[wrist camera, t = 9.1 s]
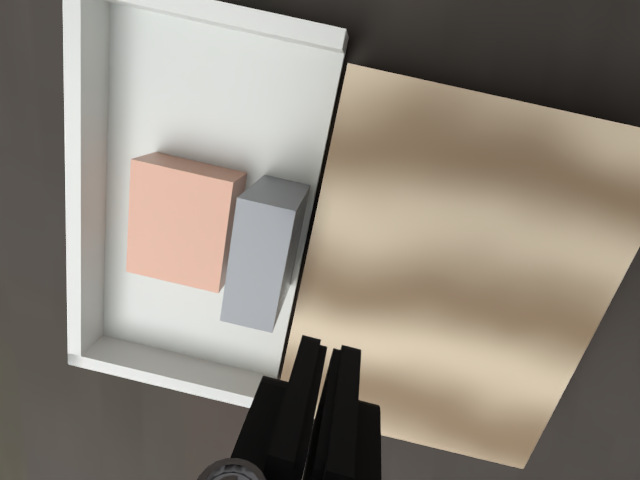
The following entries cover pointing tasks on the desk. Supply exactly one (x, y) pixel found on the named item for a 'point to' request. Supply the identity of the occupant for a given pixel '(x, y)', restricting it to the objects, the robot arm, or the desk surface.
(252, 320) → the slate tile
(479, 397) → the plate
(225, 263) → the salmon pink block
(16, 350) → the desk surface
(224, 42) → the box
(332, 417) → the robot arm
